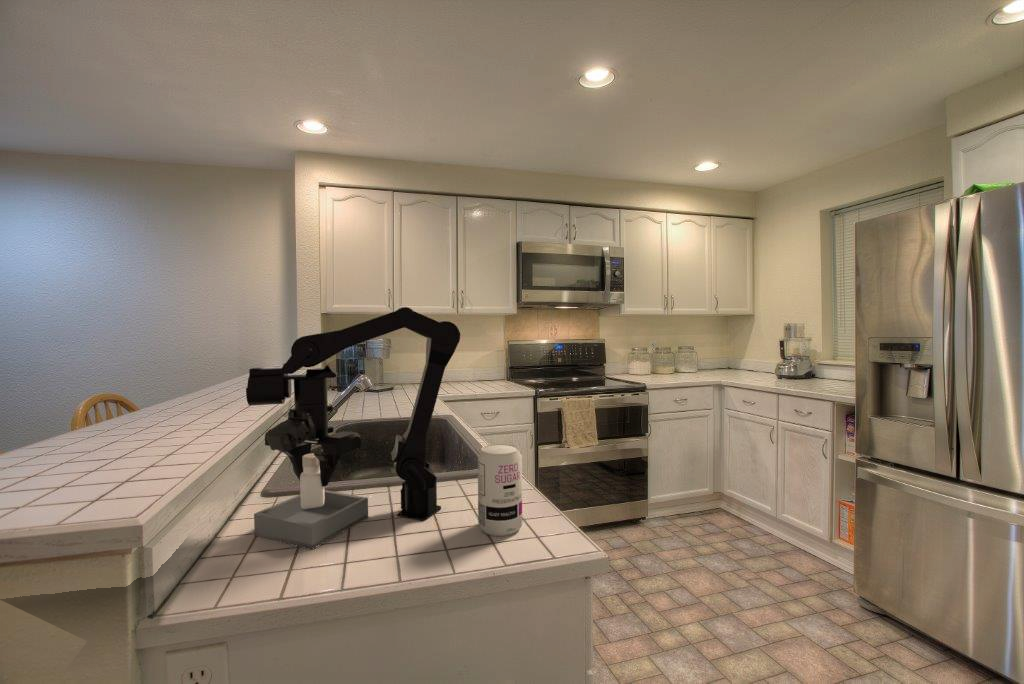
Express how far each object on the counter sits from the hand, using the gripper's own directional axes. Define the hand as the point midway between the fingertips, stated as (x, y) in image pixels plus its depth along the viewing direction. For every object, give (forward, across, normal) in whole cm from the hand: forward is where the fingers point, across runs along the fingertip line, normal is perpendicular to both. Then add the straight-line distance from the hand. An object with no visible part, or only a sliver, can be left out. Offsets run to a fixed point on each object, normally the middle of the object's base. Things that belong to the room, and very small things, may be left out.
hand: (313, 484), depth 87 cm
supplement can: (+8, +33, +13) cm, 36 cm away
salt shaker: (+4, 0, 0) cm, 4 cm away
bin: (+8, 0, 0) cm, 8 cm away
